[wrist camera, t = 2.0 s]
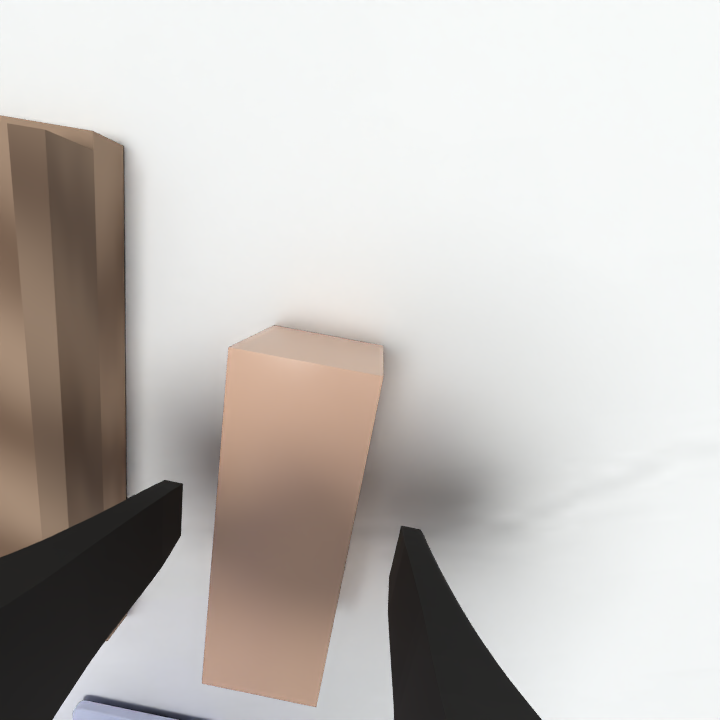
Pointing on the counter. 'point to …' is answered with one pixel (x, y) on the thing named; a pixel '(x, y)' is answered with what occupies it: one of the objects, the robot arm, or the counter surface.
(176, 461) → the counter surface
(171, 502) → the robot arm
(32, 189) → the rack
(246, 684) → the peach rectangular block
